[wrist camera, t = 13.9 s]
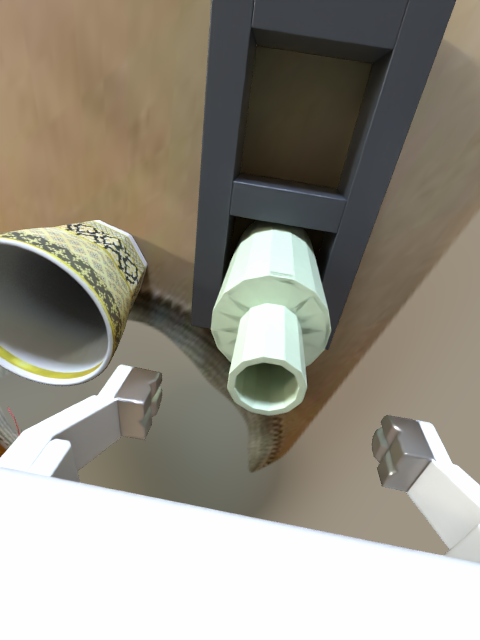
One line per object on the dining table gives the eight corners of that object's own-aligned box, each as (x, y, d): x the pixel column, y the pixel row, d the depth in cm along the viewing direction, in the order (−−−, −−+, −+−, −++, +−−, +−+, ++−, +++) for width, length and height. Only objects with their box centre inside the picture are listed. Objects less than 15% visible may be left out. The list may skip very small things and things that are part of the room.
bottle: (320, 222, 23) (368, 341, 10) (301, 292, 26) (320, 448, 14) (242, 209, 23) (197, 311, 11) (233, 280, 26) (188, 423, 14)
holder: (422, 22, 17) (457, -3, 14) (322, 322, 28) (328, 350, 24) (226, -8, 17) (213, -40, 14) (201, 301, 28) (190, 325, 24)
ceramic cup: (182, 233, 25) (130, 289, 16) (149, 327, 30) (97, 407, 21) (17, 156, 23) (-137, 174, 15) (13, 269, 28) (-102, 331, 20)
